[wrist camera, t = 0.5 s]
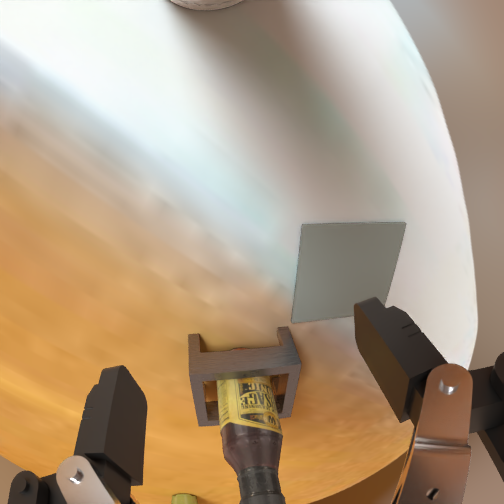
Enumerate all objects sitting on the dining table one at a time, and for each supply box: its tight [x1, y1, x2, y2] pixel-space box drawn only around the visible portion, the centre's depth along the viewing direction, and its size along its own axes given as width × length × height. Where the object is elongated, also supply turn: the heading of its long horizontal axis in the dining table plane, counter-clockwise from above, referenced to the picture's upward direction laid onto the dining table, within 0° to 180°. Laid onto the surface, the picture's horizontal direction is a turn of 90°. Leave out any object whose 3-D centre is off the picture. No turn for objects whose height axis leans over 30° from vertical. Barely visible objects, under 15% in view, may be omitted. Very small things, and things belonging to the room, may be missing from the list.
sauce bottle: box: [216, 348, 286, 504], centre depth 30 cm, size 6×6×20 cm
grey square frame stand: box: [188, 327, 301, 426], centre depth 36 cm, size 10×11×6 cm
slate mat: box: [291, 222, 406, 323], centre depth 35 cm, size 12×12×1 cm
